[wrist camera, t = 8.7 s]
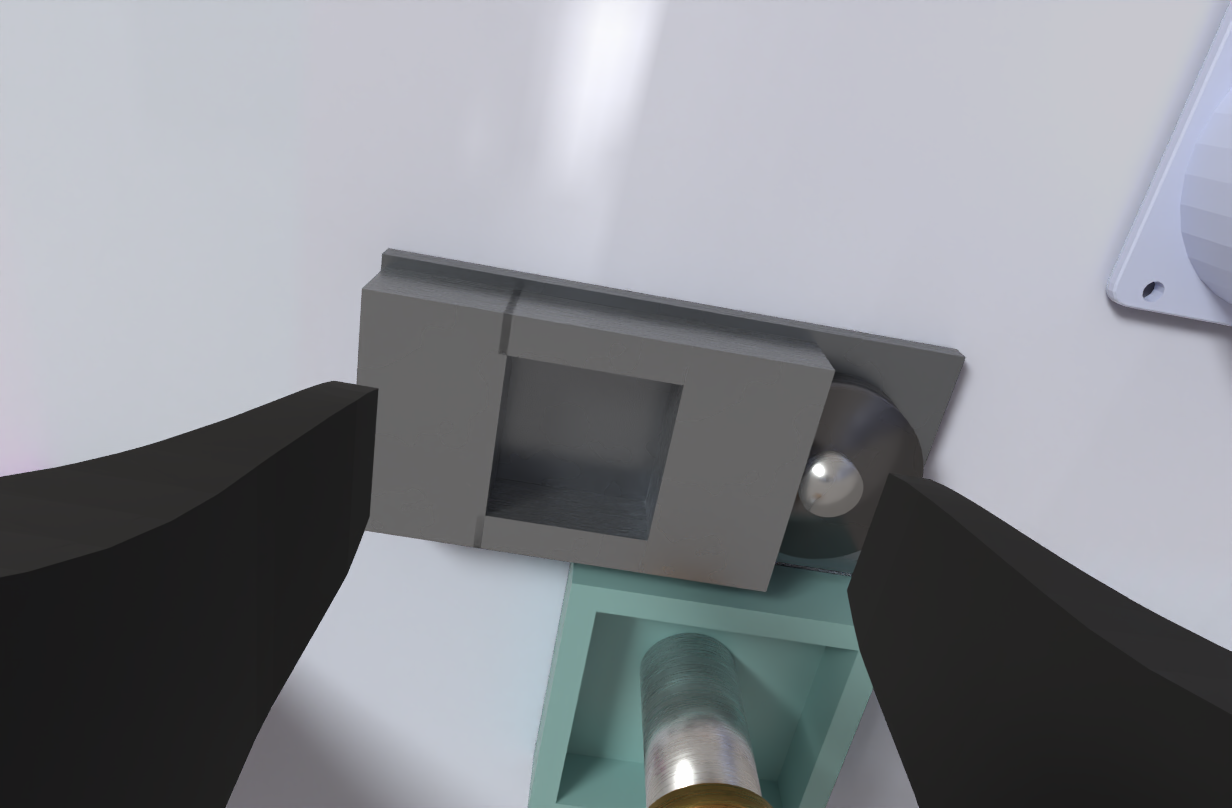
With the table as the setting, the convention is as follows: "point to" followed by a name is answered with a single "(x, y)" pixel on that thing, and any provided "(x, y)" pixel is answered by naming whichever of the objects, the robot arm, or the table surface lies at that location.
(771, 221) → the table surface
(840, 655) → the tray
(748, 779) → the pin
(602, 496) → the plate
